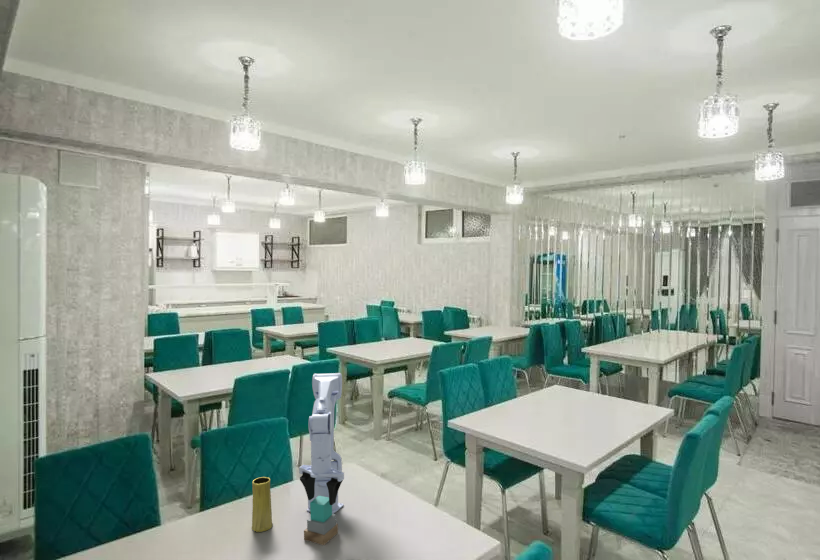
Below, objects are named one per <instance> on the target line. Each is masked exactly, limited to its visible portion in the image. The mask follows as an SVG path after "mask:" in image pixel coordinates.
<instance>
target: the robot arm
mask: <svg viewBox="0 0 820 560" xmlns="http://www.w3.org/2000/svg"><path fill="white" fill-rule="evenodd" d="M311 385H312V392H313V396H314V399H315V400H314V401H313V407H312V412H311V413H312V414H311V415H309V417H308V432H309V433H308V434H309V441H310V455H311V456H310V465H309V464H302V465H300V466H299V467H298V469H299V471H298V473H299V474H300V477H299V481H300V482H301V484H302V485H303V487H304V490H305V493H306V497H307V508H306V511H307V512H310V502H312V501H313V500H314V499H315V498H316V497H318V496H324V497H329V504H330V505H332V514H336V513H337V512H338V511H339V510H341V508H343V507H344V506H345V505H344V503H340V502H339V490H340V487H341V485H342V482H343V480H345V472H343V461H342V456H341V454H339V453H338V452H336V451H335V450H334V445H335V444H334V443H335V442H334V441H335V440H334V439H335V438H334V437H335V433H334V432H335V405H336V403H337V401H338V400H339V399H341V398H342V395H343V394H342V393H343V374H342V373H341V372H335V373H334V372H333V373H332V372H331V373H330V372H329V373H315V372H314V373H313V375H312V380H311Z"/></svg>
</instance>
